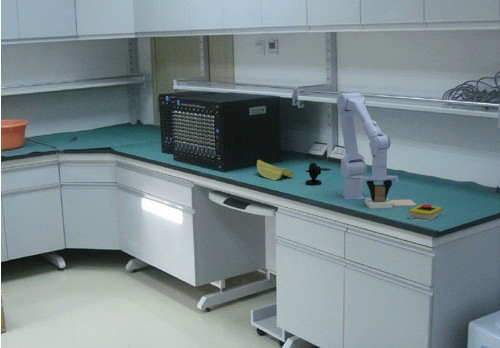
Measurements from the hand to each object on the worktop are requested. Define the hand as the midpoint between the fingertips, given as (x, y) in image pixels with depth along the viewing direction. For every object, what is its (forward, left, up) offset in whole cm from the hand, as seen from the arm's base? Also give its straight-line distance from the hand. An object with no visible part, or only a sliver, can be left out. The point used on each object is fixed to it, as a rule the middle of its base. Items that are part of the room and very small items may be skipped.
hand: (378, 199), depth 272 cm
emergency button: (+16, +14, -4) cm, 22 cm away
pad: (-3, +10, -3) cm, 11 cm away
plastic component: (-64, -37, -3) cm, 74 cm away
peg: (0, 0, -2) cm, 2 cm away
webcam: (-45, -20, -3) cm, 49 cm away
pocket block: (0, 0, -3) cm, 3 cm away
